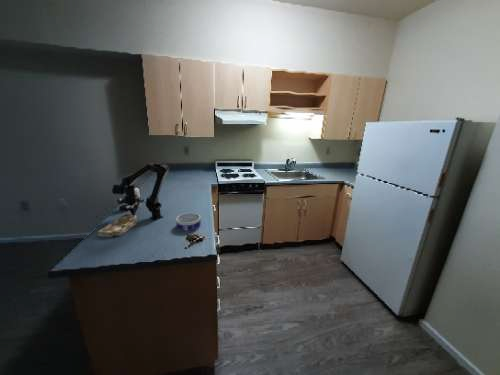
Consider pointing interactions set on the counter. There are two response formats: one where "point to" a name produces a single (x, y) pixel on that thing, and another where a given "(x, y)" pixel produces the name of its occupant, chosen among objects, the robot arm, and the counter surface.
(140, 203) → the supplement can
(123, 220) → the walnut block
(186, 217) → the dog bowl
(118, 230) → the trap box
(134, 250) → the counter surface
